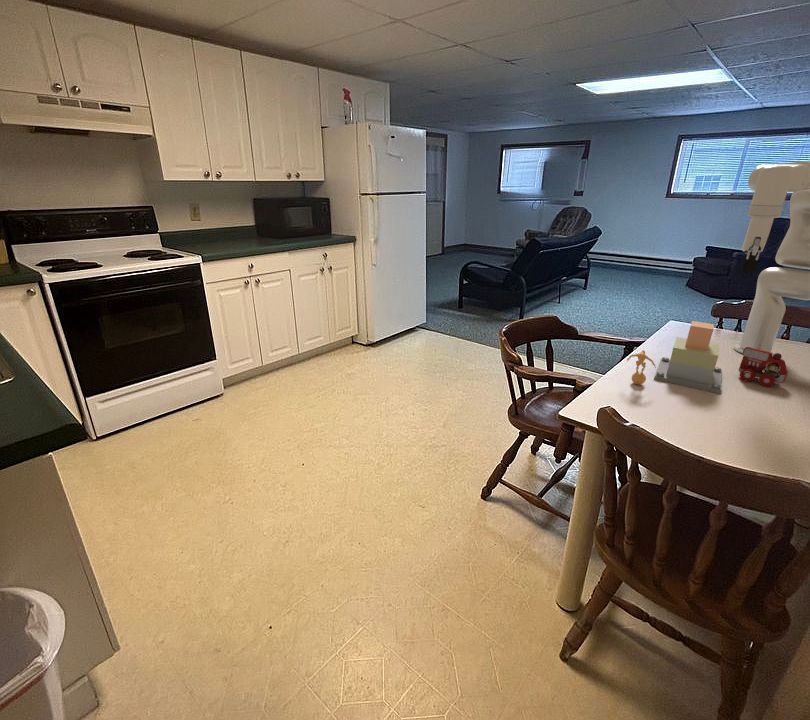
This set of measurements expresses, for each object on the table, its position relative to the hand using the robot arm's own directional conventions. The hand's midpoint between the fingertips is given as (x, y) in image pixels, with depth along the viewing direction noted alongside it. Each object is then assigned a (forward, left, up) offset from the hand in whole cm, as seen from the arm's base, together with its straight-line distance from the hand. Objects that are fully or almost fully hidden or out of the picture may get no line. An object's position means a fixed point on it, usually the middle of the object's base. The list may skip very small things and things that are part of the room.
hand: (747, 269), depth 135 cm
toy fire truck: (+1, +11, -35) cm, 37 cm away
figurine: (+27, -21, -35) cm, 49 cm away
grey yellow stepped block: (+10, -8, -34) cm, 37 cm away
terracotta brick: (+10, -8, -24) cm, 27 cm away
